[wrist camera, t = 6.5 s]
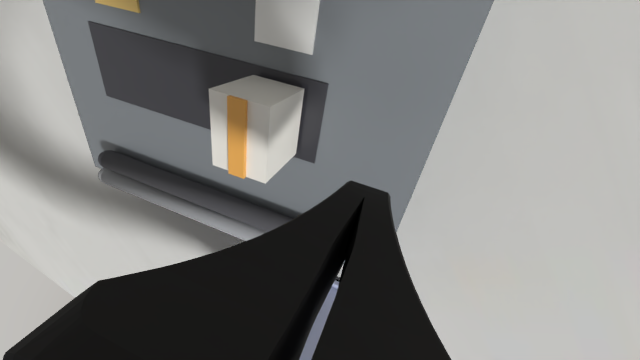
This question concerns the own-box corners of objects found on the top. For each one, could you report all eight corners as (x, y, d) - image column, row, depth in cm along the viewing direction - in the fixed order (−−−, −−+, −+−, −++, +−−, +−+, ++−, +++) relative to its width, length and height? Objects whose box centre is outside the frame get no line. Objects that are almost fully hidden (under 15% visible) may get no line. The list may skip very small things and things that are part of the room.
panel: (381, 256, 20) (376, 279, 18) (117, 156, 25) (93, 166, 23) (519, -78, 10) (535, -97, 9) (41, -135, 15) (-10, -155, 13)
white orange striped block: (296, 154, 16) (263, 185, 13) (251, 139, 16) (210, 166, 13) (304, 88, 14) (268, 108, 11) (253, 74, 14) (205, 89, 11)
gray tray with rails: (342, 267, 19) (336, 283, 18) (108, 174, 23) (91, 182, 22) (439, -46, 10) (440, -54, 9) (25, -108, 14) (-11, -119, 13)
